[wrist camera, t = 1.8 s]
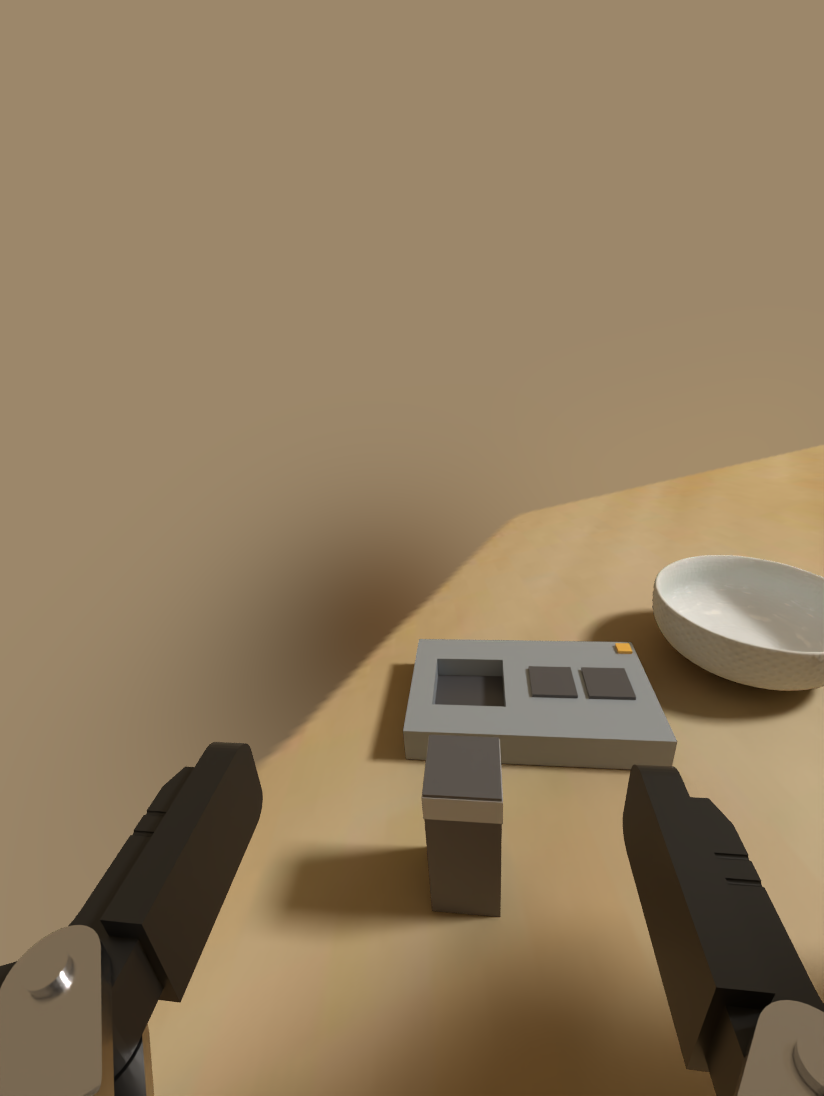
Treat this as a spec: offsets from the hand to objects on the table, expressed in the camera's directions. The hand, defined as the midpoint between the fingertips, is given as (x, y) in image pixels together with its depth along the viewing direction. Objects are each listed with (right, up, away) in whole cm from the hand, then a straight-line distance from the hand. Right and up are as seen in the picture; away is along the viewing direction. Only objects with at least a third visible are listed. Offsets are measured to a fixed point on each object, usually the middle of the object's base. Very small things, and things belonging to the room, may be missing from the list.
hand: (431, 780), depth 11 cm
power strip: (+10, -9, +33) cm, 36 cm away
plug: (+3, -16, +21) cm, 26 cm away
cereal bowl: (+31, -6, +38) cm, 50 cm away
